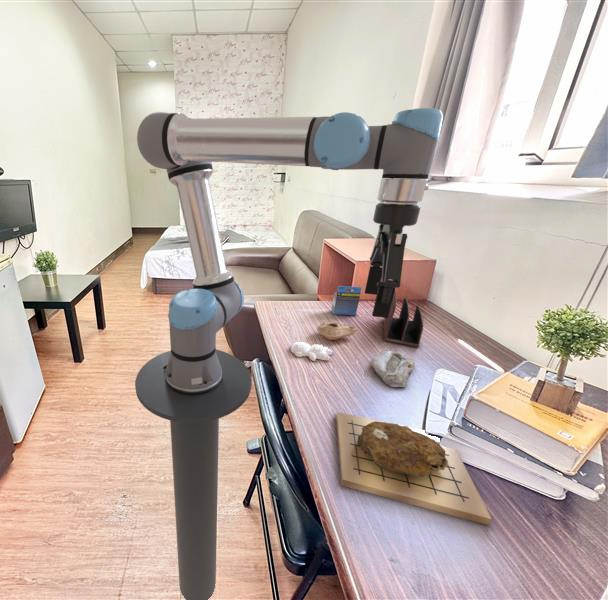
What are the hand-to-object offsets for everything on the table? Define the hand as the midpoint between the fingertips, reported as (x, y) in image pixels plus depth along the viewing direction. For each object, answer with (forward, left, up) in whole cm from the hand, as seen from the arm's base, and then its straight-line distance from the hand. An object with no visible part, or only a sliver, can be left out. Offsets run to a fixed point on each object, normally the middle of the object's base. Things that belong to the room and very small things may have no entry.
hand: (374, 304), depth 68 cm
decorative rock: (+6, -17, -24) cm, 30 cm away
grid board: (+6, -17, -26) cm, 32 cm away
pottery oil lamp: (-3, +32, -26) cm, 41 cm away
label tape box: (+1, +55, -26) cm, 61 cm away
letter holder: (+19, +44, -26) cm, 55 cm away
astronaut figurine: (-11, +19, -26) cm, 34 cm away
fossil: (+12, +17, -26) cm, 34 cm away
